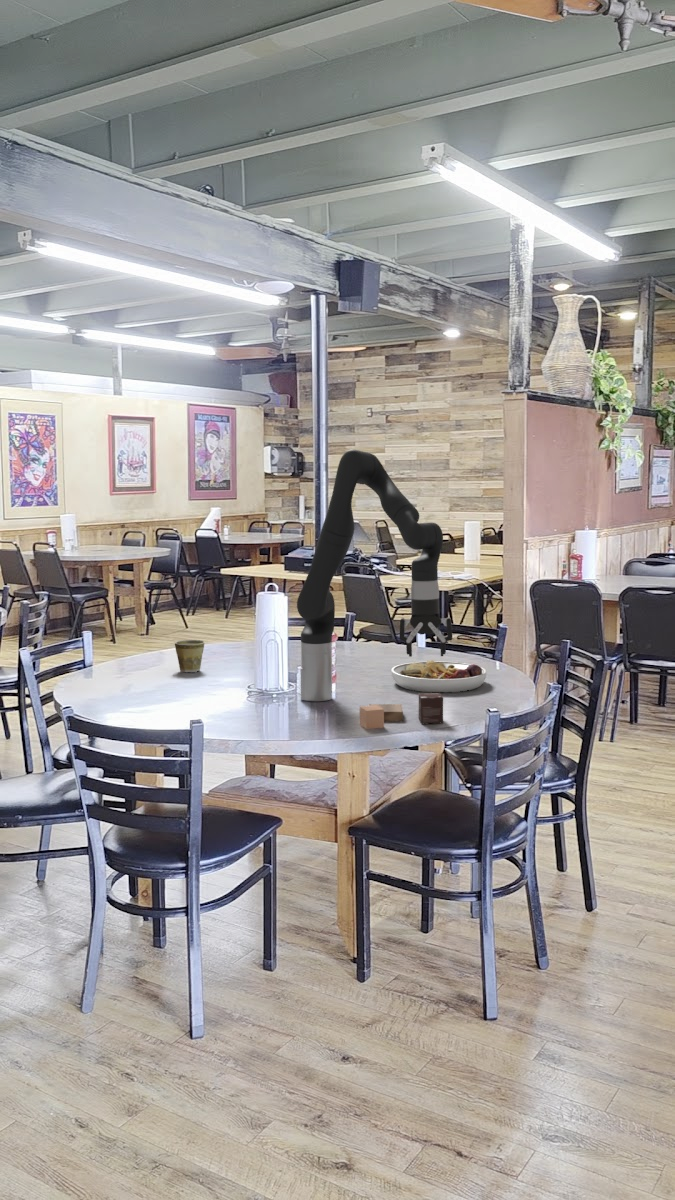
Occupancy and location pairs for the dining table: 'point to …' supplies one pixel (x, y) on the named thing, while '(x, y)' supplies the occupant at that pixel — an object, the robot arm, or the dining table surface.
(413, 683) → the bowl
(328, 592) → the robot arm
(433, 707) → the box
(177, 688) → the dining table surface
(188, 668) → the ceramic cup
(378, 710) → the terracotta block
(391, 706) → the plinth
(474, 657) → the dining table surface
